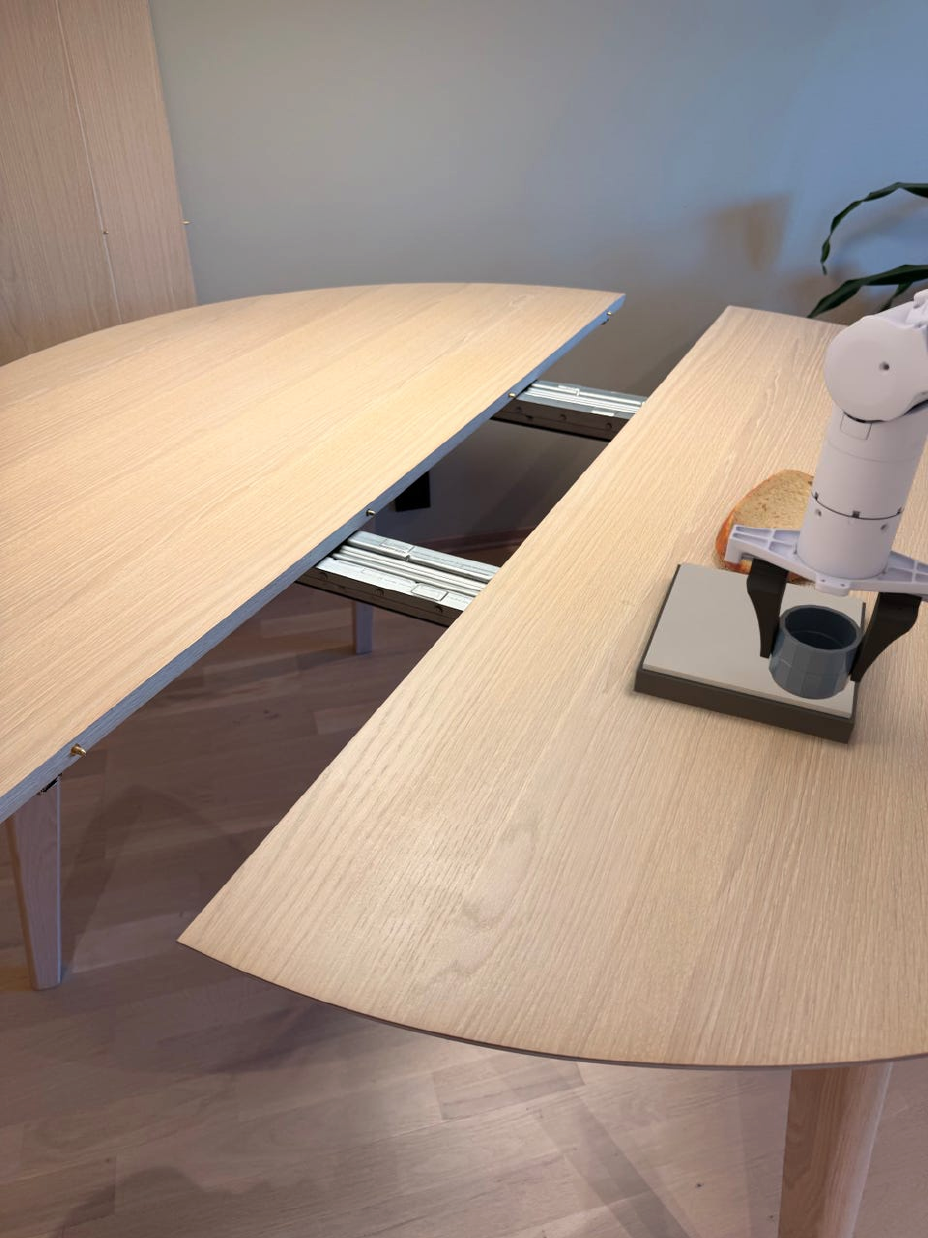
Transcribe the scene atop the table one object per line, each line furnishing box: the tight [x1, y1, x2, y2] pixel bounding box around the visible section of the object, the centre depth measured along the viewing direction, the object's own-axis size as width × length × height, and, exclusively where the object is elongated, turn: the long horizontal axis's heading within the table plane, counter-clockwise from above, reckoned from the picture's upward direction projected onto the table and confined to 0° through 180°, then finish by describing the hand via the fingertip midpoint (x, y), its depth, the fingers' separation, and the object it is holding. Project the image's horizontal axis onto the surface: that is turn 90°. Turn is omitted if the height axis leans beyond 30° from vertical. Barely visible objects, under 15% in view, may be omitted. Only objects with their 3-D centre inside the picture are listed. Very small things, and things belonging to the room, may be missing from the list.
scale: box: [633, 561, 867, 745], centre depth 82 cm, size 17×17×3 cm
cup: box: [768, 604, 863, 700], centre depth 68 cm, size 6×6×4 cm
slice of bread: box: [715, 469, 814, 582], centre depth 98 cm, size 18×18×4 cm
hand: (810, 661), depth 69 cm, fingers closed on cup, 6 cm apart
